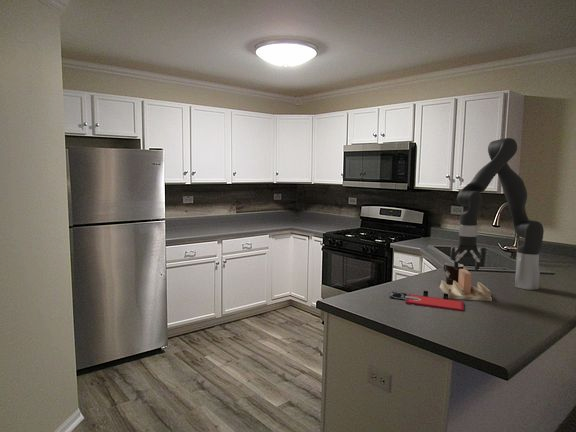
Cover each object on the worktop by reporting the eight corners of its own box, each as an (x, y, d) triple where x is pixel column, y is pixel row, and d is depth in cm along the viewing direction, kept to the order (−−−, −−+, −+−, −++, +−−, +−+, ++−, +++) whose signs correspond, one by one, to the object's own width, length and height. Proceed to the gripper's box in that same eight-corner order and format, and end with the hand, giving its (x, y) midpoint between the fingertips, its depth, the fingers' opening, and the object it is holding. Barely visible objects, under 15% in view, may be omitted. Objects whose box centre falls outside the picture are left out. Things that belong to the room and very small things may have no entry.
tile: (470, 293, 176) (471, 274, 175) (463, 293, 176) (464, 273, 176) (464, 287, 186) (465, 269, 185) (457, 287, 186) (458, 268, 185)
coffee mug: (464, 287, 192) (465, 267, 191) (445, 285, 194) (446, 266, 193) (459, 281, 204) (460, 262, 203) (441, 280, 205) (442, 261, 204)
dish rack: (479, 289, 188) (479, 281, 188) (491, 301, 171) (492, 292, 170) (439, 287, 191) (440, 279, 191) (448, 298, 174) (448, 289, 173)
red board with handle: (392, 292, 183) (387, 302, 169) (392, 286, 182) (387, 296, 168) (462, 301, 171) (463, 313, 157) (463, 295, 171) (464, 306, 157)
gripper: (453, 235, 176) (452, 271, 177) (487, 236, 173) (485, 272, 175) (449, 233, 183) (448, 267, 185) (482, 233, 181) (480, 268, 182)
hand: (466, 269), depth 180 cm, fingers open, 8 cm apart
